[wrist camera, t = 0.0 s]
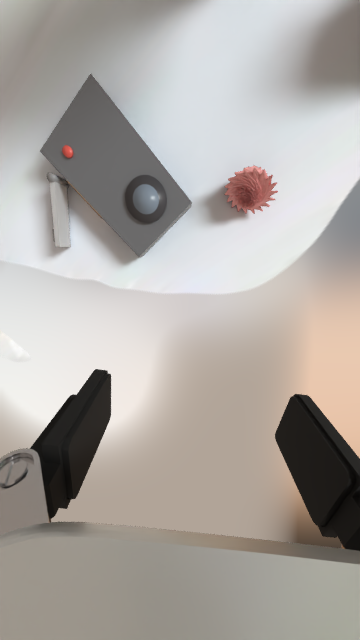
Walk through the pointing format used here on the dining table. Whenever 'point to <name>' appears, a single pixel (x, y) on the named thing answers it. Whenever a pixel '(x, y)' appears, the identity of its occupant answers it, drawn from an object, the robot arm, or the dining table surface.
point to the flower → (250, 189)
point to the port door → (59, 210)
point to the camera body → (115, 169)
